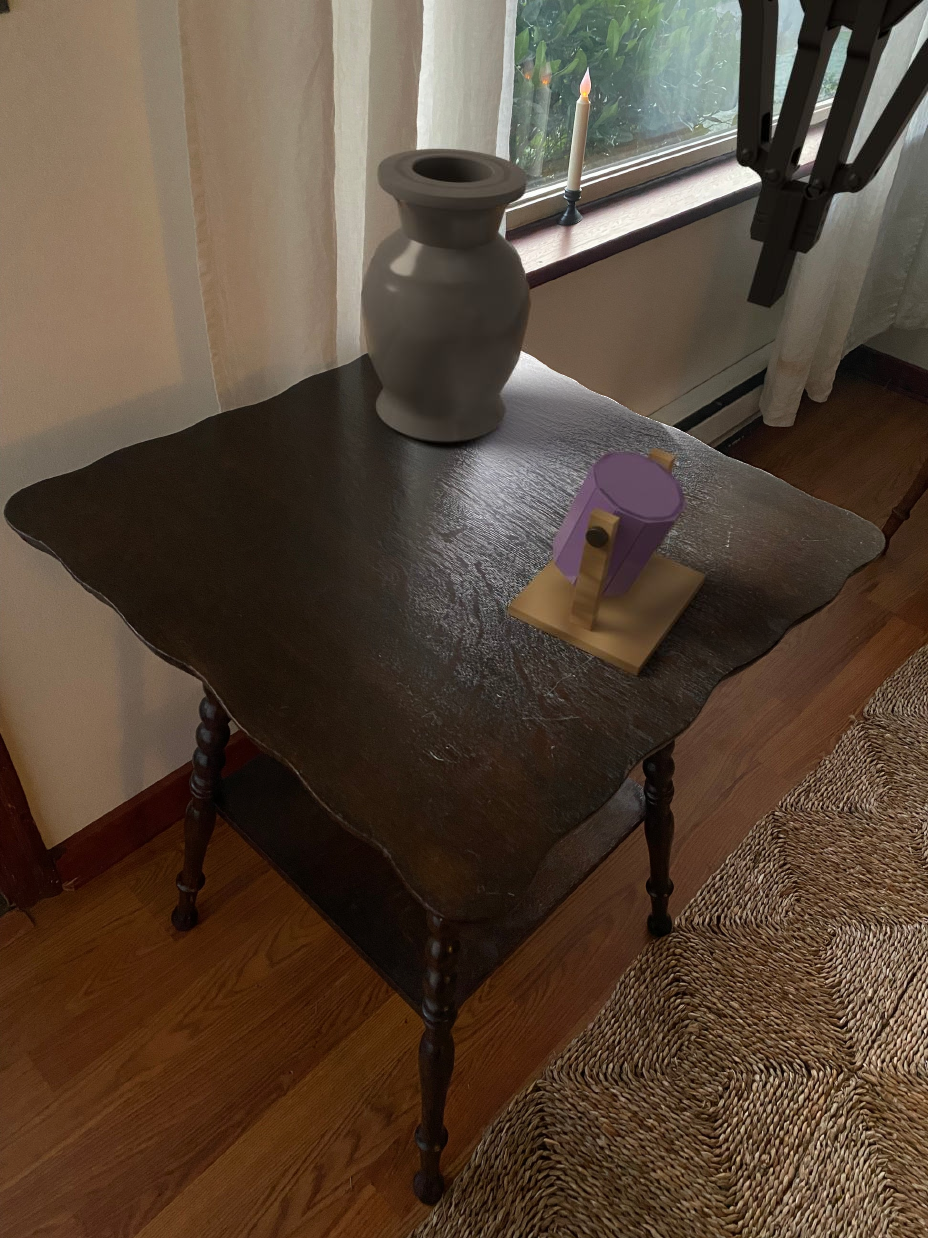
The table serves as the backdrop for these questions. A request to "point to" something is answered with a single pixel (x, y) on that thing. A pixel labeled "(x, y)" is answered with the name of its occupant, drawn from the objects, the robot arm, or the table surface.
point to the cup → (621, 516)
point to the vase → (446, 295)
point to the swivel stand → (610, 598)
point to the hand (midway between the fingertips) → (765, 297)
